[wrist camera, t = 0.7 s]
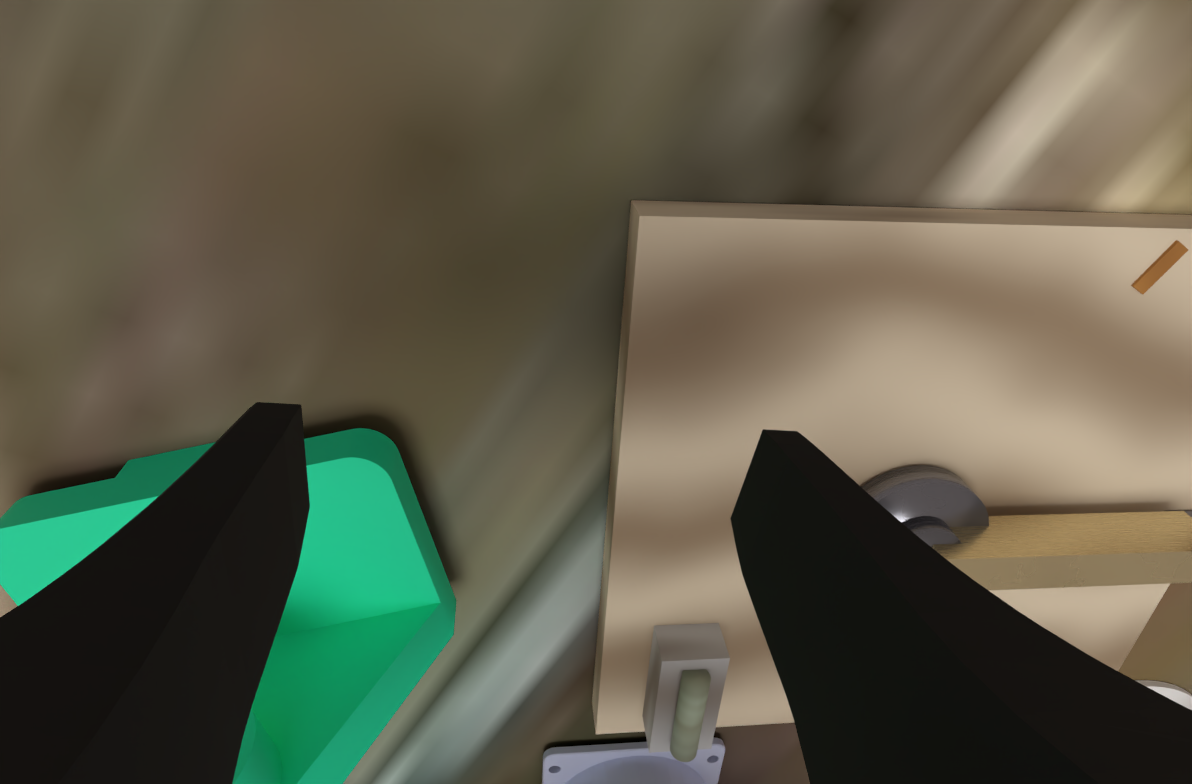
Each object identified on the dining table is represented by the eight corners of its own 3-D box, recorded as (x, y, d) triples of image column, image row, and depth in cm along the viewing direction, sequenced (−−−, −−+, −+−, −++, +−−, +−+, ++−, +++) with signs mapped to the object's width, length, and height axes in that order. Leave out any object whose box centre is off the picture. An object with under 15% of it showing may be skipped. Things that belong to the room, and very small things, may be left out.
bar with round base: (1134, 569, 28) (1187, 620, 26) (816, 581, 26) (844, 635, 24) (1195, 460, 25) (1259, 506, 23) (848, 466, 24) (882, 515, 22)
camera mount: (392, 403, 23) (319, 677, 14) (457, 578, 27) (433, 879, 18) (15, 480, 23) (-297, 804, 14) (135, 644, 27) (-49, 979, 18)
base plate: (1075, 675, 33) (1139, 755, 30) (591, 702, 31) (602, 792, 27) (1328, 218, 23) (1469, 261, 20) (631, 200, 20) (655, 245, 17)
